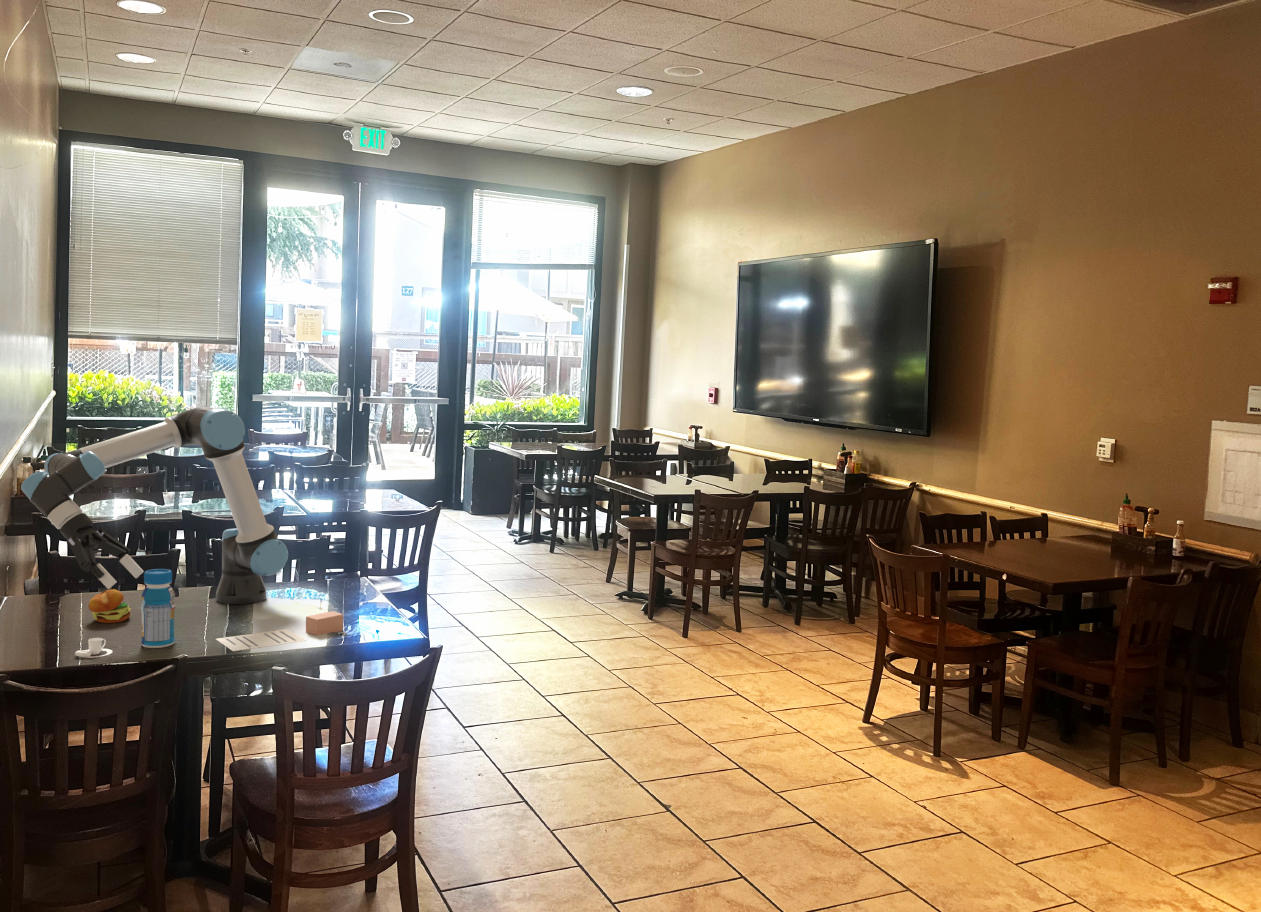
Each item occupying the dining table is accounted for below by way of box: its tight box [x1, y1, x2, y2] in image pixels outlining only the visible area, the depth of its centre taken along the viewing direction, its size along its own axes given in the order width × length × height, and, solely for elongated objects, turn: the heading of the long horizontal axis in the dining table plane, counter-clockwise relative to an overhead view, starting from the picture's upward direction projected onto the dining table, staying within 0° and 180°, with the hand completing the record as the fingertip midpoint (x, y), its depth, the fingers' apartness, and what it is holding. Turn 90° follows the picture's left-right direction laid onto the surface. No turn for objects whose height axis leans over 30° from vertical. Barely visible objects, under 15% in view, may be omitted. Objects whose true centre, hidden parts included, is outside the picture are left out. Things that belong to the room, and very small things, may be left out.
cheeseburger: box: [88, 588, 132, 624], centre depth 294 cm, size 10×11×10 cm
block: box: [305, 610, 344, 636], centre depth 292 cm, size 5×5×9 cm
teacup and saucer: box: [74, 637, 114, 659], centre depth 262 cm, size 9×8×4 cm
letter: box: [215, 628, 307, 652], centre depth 280 cm, size 14×20×1 cm
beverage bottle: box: [140, 568, 176, 649], centre depth 271 cm, size 8×8×20 cm
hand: (126, 580), depth 270 cm, fingers open, 13 cm apart
